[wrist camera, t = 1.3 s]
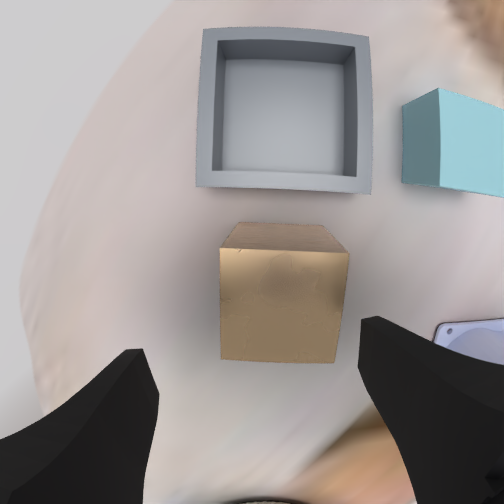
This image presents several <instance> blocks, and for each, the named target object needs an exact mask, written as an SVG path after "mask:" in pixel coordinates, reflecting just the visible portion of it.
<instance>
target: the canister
mask: <svg viewBox="0 0 504 504" xmlns="http://www.w3.org/2000/svg"><path fill="white" fill-rule="evenodd" d="M240 504H290V503H283V502H273V501H271V502H266V501H263V502H247V503H240Z"/></svg>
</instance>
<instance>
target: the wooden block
mask: <svg viewBox="0 0 504 504" xmlns="http://www.w3.org/2000/svg"><path fill="white" fill-rule="evenodd" d="M348 262H349V253H348V251H347V250H346V249H345V248H344V247H343V246H342V245H341V244H340V243H339V242H338V241H337V240H336V239H335V238H334V237H333V236H332V235H331V234H330V233H329V232H328V231H327V230H326V229H325V228H324V227H323V226H320V225H299V224H276V223H249V222H239V223H238V224H237V226H236V227H235V228H234V230H233V231H232V232H231V234H230V235H229V236H228V238H227V239H226V240H225V242H224V243H223V244H222V246H221V247H220V337H221V359H226V360H240V361H256V362H279V363H334V361H335V355H336V349H337V343H338V337H339V331H340V324H341V318H342V311H343V303H344V296H345V288H346V280H347V271H348Z"/></svg>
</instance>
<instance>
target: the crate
mask: <svg viewBox="0 0 504 504" xmlns="http://www.w3.org/2000/svg"><path fill="white" fill-rule="evenodd" d="M372 160H373V98H372V74H371V58H370V45H369V37H367V36H362V35H356V34H349V33H342V32H334V31H325V30H315V29H303V28H286V27H227V28H210V29H203V37H202V50H201V64H200V79H199V96H198V117H197V145H196V187H239V188H272V189H295V190H314V191H330V192H344V193H357V194H369V195H371V185H372Z"/></svg>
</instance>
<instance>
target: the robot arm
mask: <svg viewBox="0 0 504 504" xmlns="http://www.w3.org/2000/svg"><path fill="white" fill-rule="evenodd" d="M449 328H450V330H449V331H448V332H447V330H448V329H449ZM358 369H359V372H360V374H361V377H362V380H363V382H364V385H365V387H366V389H367V392H368V393H369V395H370V397H371V399H372V401H373V402H374V404H375V406H376V408H377V409H378V411H379V413H380V415H381V416H382V418H383V420H384V422H385V423H386V425H387V427H388V429H389V430H390V432H391V434H392V436H393V438H394V440H395V442H396V444H397V446H398V448H399V451H400V453H401V456H402V458H403V461H404V464H405V466H406V469H407V472H408V475H409V478H410V481H411V484H412V487H413V490H414V494H415V497H416V501H417V504H504V319H496V320H485V321H474V322H461V323H445V324H442V325H440V326H439V327H438V329H437V333H436V336H435V340H434V342H431V341H429V340H427V339H425V338H423V337H421V336H419V335H417V334H415V333H413V332H411V331H409V330H407V329H405V328H403V327H401V326H399V325H397V324H395V323H393V322H391V321H389V320H386V319H384V318H382V317H380V316H374V317H370V318H365V319H361V332H360V346H359V358H358ZM158 405H159V392H158V389H157V386H156V384H155V381H154V379H153V376H152V373H151V370H150V368H149V365H148V362H147V359H146V357H145V354H144V351H143V349H126V350H125V351H124V352H122V353H121V354H120V355H119V356H118V357H116V358H115V359H114V360H113V361H112V362H111V363H110V364H109V365H108V366H107V367H105V368H104V369H103V370H102V371H101V372H100V373H99V374H98V375H97V376H96V377H95V378H93V379H92V380H91V381H90V382H89V383H88V384H87V385H86V386H84V387H83V388H82V389H81V390H80V391H78V392H77V393H76V394H75V395H74V396H72V397H71V398H70V399H69V400H68V401H66V402H65V403H64V404H62V405H61V406H60V407H58V408H57V409H56V410H54V411H53V412H51V413H50V414H48V415H47V416H45V417H44V418H42V419H40V420H39V421H37V422H35V423H33V424H31V425H30V426H28V427H26V428H24V429H22V430H21V431H18V432H16V433H14V434H12V435H10V436H7V437H5V438H3V439H0V504H143V488H144V478H145V472H146V467H147V462H148V458H149V453H150V449H151V444H152V440H153V436H154V431H155V427H156V422H157V416H158Z"/></svg>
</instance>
